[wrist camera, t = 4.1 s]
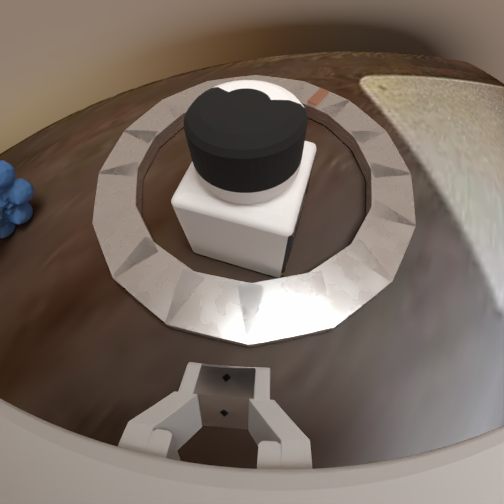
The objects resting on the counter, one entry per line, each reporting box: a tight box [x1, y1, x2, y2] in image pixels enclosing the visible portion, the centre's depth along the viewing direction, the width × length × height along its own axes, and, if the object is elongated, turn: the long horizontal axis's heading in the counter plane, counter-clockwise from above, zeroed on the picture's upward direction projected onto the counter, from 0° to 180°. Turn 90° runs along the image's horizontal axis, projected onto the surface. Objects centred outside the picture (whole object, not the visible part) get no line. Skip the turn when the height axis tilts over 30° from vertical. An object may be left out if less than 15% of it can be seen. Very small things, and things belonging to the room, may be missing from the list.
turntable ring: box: [92, 75, 416, 348], centre depth 25 cm, size 28×28×2 cm
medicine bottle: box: [171, 80, 316, 278], centre depth 18 cm, size 7×7×12 cm
